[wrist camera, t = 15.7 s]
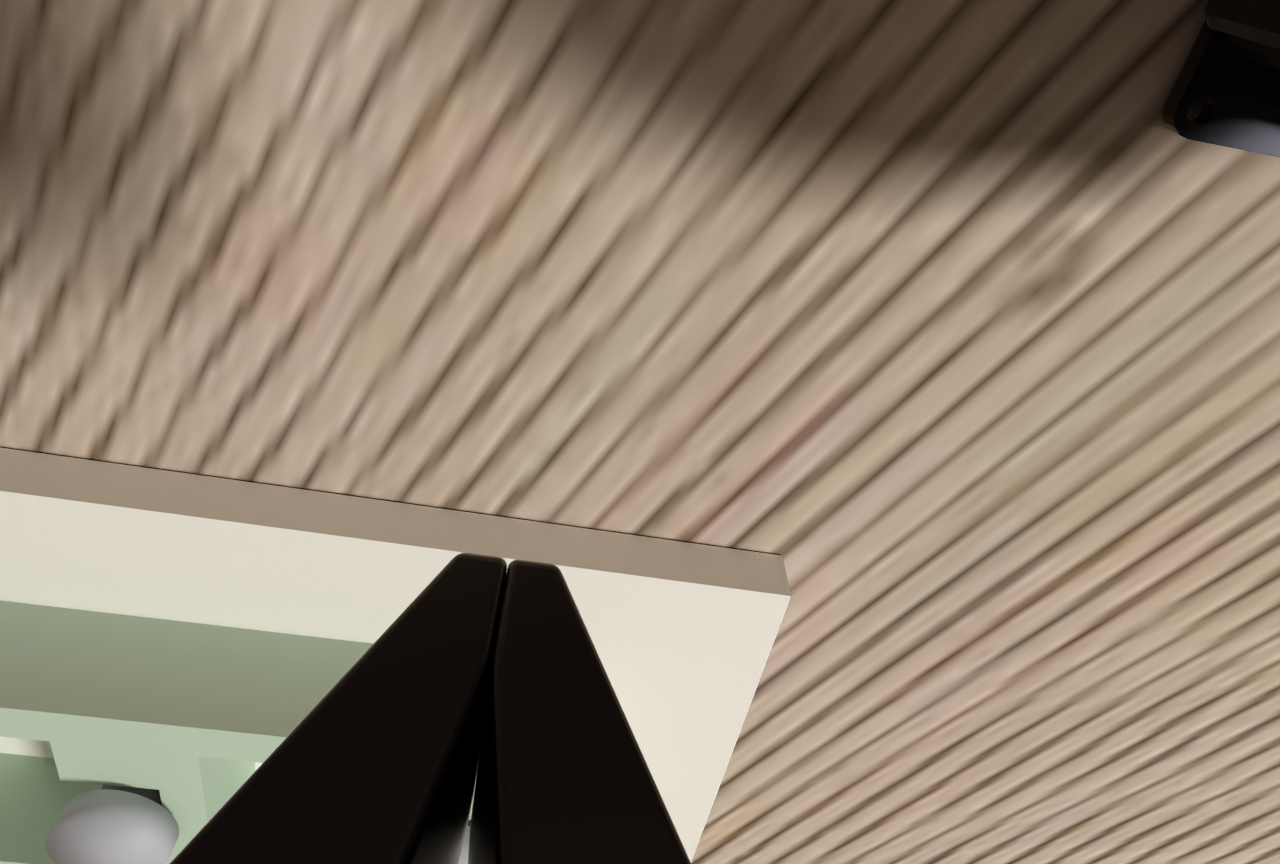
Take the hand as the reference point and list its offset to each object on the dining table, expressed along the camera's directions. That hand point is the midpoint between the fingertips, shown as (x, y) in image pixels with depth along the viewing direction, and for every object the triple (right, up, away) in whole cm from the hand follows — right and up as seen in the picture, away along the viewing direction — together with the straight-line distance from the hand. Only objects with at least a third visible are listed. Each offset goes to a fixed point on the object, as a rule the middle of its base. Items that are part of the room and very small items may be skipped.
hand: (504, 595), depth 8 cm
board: (-8, -6, +18) cm, 21 cm away
